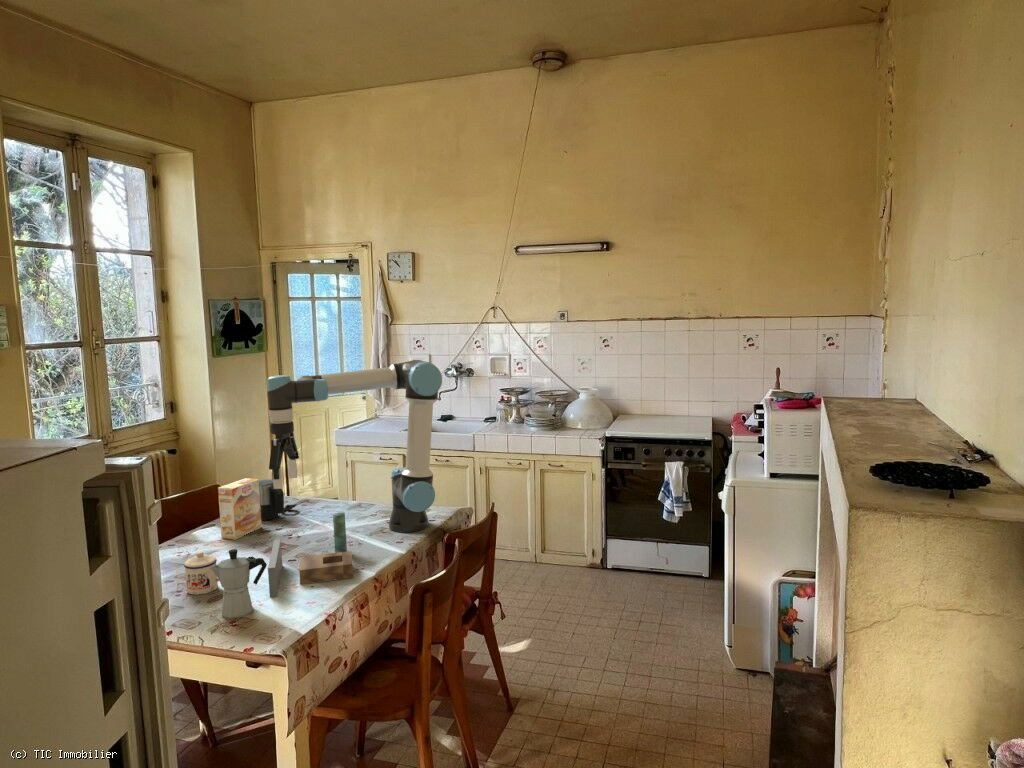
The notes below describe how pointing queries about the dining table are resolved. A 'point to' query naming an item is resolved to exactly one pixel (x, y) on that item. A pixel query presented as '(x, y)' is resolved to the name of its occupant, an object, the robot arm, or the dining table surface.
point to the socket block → (325, 567)
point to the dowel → (339, 532)
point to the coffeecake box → (239, 508)
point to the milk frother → (271, 500)
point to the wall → (275, 568)
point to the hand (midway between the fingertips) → (286, 483)
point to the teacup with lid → (200, 574)
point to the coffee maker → (237, 583)
